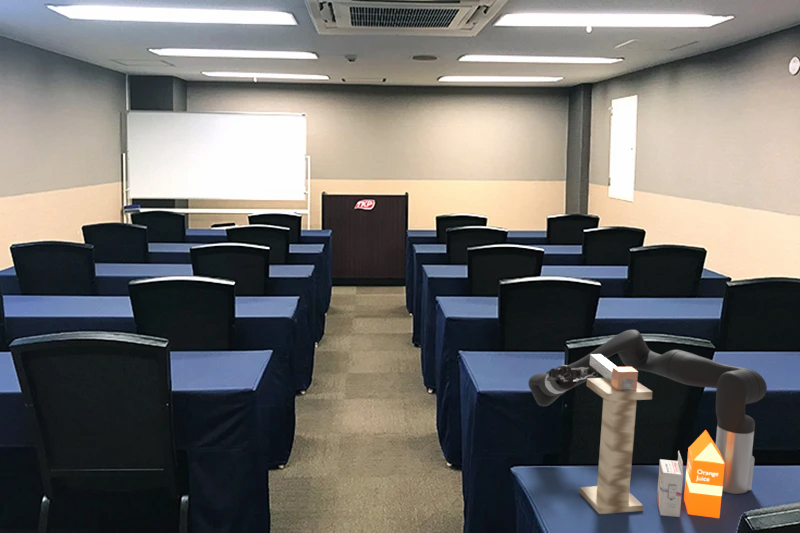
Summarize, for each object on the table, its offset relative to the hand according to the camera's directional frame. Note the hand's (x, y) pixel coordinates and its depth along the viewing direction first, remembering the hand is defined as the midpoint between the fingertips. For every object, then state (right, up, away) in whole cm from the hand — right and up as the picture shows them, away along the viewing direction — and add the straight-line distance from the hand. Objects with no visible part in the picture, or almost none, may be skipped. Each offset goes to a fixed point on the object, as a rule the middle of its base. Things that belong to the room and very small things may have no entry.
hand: (581, 368), depth 219 cm
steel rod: (+3, 0, -18) cm, 18 cm away
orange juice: (+26, -34, -21) cm, 48 cm away
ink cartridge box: (+17, -33, -22) cm, 44 cm away
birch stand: (+3, -32, -19) cm, 38 cm away
